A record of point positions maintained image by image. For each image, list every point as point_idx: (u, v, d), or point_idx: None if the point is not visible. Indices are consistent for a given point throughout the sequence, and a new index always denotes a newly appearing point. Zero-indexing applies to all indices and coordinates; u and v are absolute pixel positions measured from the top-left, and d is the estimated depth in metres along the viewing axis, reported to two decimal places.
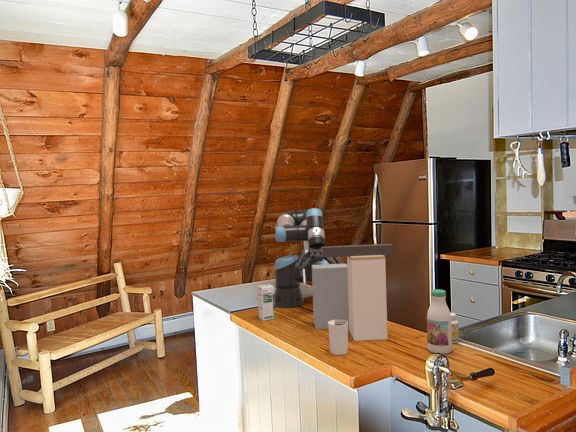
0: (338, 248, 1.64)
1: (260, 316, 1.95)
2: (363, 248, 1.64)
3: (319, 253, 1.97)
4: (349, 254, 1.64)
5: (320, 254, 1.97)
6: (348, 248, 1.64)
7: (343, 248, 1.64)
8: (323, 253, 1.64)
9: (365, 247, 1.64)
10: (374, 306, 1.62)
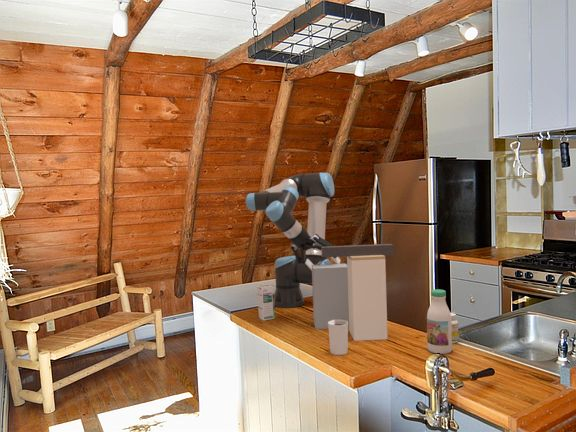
0: (338, 248, 1.64)
1: (260, 316, 1.95)
2: (363, 248, 1.64)
3: None
4: (349, 254, 1.64)
5: (308, 246, 1.85)
6: (348, 248, 1.64)
7: (343, 248, 1.64)
8: (323, 253, 1.64)
9: (365, 247, 1.64)
10: (374, 306, 1.62)
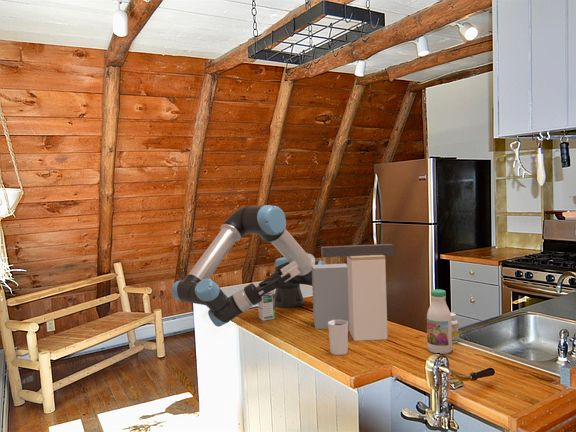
0: (338, 248, 1.64)
1: (260, 316, 1.95)
2: (363, 248, 1.64)
3: None
4: (349, 254, 1.64)
5: None
6: (348, 248, 1.64)
7: (343, 248, 1.64)
8: (323, 253, 1.64)
9: (365, 247, 1.64)
10: (374, 306, 1.62)
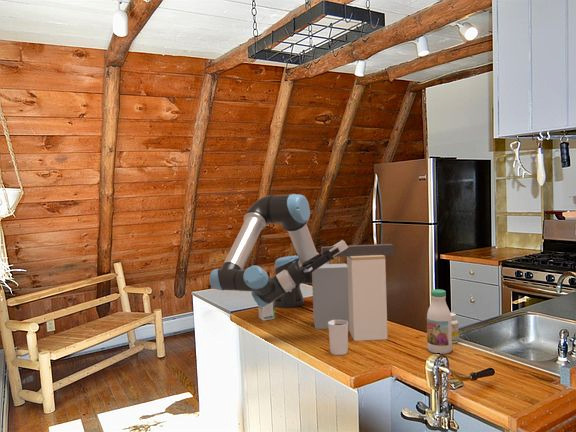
0: None
1: (260, 316, 1.95)
2: (363, 248, 1.64)
3: None
4: (349, 254, 1.64)
5: None
6: (348, 248, 1.64)
7: None
8: (323, 253, 1.64)
9: (365, 247, 1.64)
10: (374, 306, 1.62)
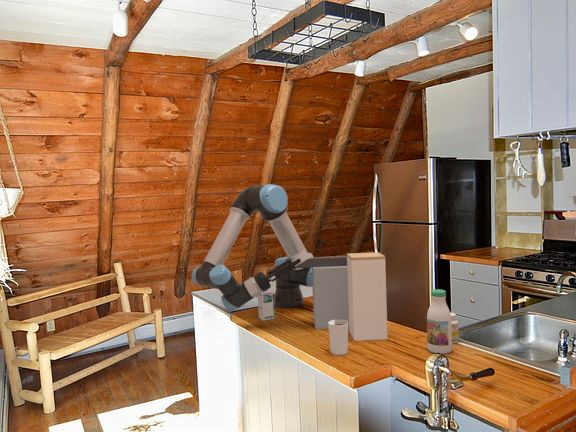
0: None
1: (260, 316, 1.95)
2: (323, 260, 1.79)
3: None
4: (311, 265, 1.79)
5: None
6: (310, 260, 1.79)
7: (305, 260, 1.79)
8: None
9: (325, 259, 1.79)
10: (374, 306, 1.62)
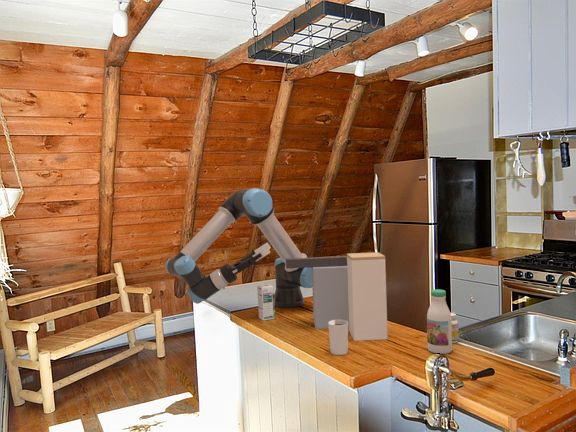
0: (300, 260, 1.79)
1: (260, 316, 1.95)
2: (323, 260, 1.79)
3: None
4: (311, 265, 1.79)
5: None
6: (310, 260, 1.79)
7: (305, 260, 1.79)
8: (287, 264, 1.79)
9: (325, 259, 1.79)
10: (374, 306, 1.62)
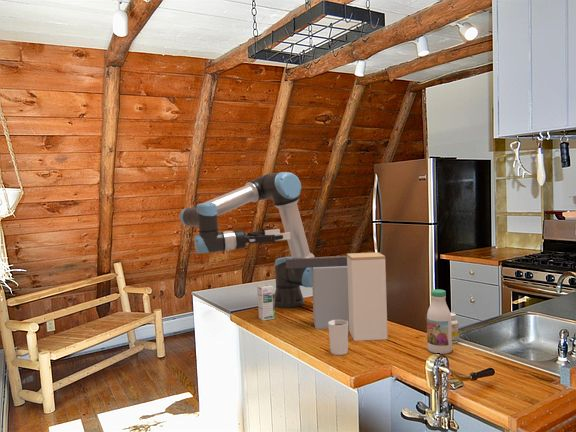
0: (300, 260, 1.79)
1: (260, 316, 1.95)
2: (323, 260, 1.79)
3: None
4: (311, 265, 1.79)
5: None
6: (310, 260, 1.79)
7: (305, 260, 1.79)
8: (287, 264, 1.79)
9: (325, 259, 1.79)
10: (374, 306, 1.62)
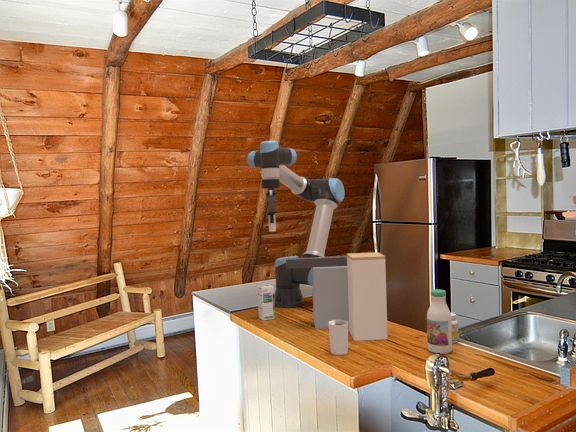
0: (300, 260, 1.79)
1: (260, 316, 1.95)
2: (323, 260, 1.79)
3: None
4: (311, 265, 1.79)
5: None
6: (310, 260, 1.79)
7: (305, 260, 1.79)
8: (287, 264, 1.79)
9: (325, 259, 1.79)
10: (374, 306, 1.62)
